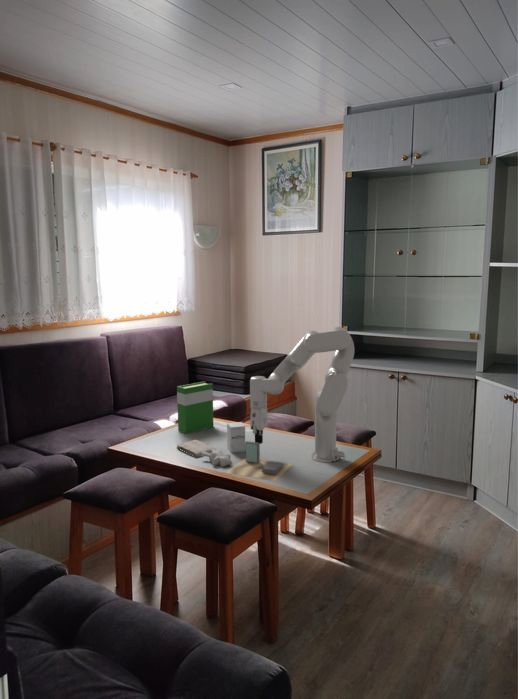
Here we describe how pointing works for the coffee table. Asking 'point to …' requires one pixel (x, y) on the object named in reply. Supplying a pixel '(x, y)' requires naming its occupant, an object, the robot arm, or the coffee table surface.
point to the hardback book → (195, 407)
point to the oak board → (256, 470)
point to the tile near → (272, 467)
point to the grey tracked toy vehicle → (195, 447)
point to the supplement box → (236, 437)
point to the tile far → (252, 452)
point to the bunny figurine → (218, 458)
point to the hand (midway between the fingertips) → (258, 442)
